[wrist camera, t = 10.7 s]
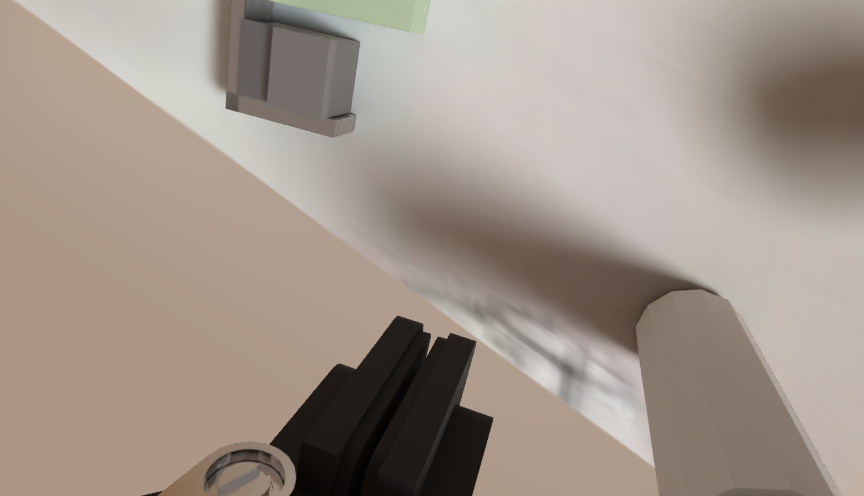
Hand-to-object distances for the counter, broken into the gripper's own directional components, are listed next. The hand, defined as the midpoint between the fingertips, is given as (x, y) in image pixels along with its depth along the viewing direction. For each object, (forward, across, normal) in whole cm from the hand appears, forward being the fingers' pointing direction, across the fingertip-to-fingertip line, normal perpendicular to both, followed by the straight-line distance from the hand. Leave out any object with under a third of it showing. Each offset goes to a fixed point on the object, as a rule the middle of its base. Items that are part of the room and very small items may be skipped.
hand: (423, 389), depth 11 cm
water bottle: (+29, -14, +10) cm, 34 cm away
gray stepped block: (+29, +18, -2) cm, 34 cm away
